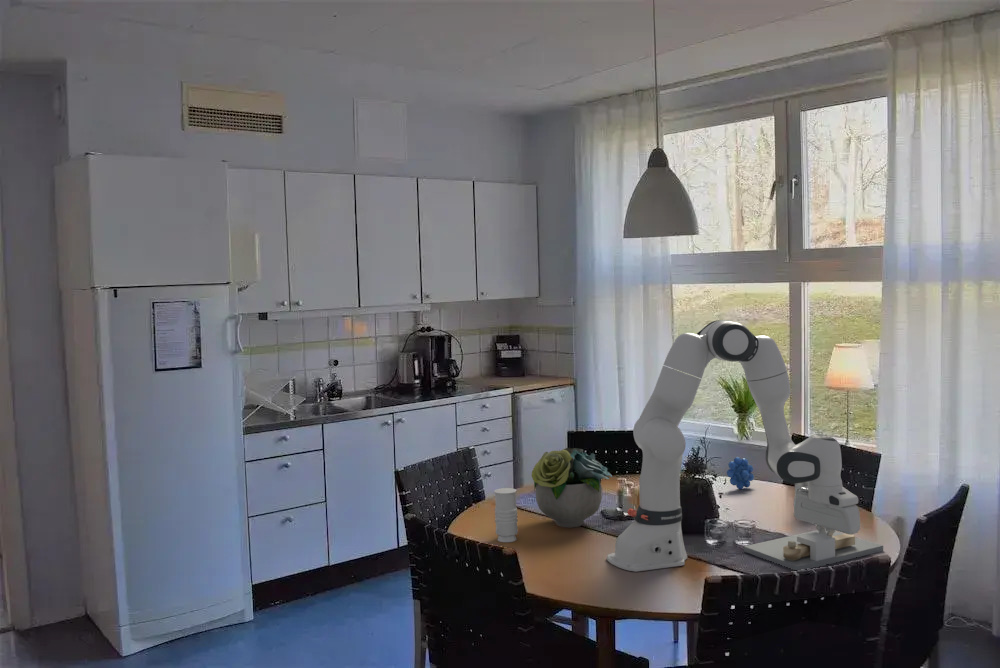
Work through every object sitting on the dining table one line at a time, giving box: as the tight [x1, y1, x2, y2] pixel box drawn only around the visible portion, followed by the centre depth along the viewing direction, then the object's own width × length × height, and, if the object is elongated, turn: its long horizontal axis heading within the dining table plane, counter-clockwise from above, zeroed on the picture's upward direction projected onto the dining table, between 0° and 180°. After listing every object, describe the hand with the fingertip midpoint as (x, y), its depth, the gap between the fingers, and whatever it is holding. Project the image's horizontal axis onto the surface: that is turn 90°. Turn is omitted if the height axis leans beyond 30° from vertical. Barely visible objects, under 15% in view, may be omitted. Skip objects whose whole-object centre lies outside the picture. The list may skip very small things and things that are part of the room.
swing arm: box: [783, 533, 856, 560], centre depth 230 cm, size 24×4×2 cm, turn 116°
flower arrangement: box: [531, 447, 613, 529], centre depth 270 cm, size 25×25×24 cm
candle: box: [493, 487, 519, 543], centre depth 257 cm, size 7×7×15 cm
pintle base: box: [743, 528, 884, 571], centre depth 236 cm, size 32×20×6 cm, turn 117°
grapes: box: [726, 456, 755, 490], centre depth 307 cm, size 12×7×12 cm, turn 113°
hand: (826, 542), depth 235 cm, fingers closed
